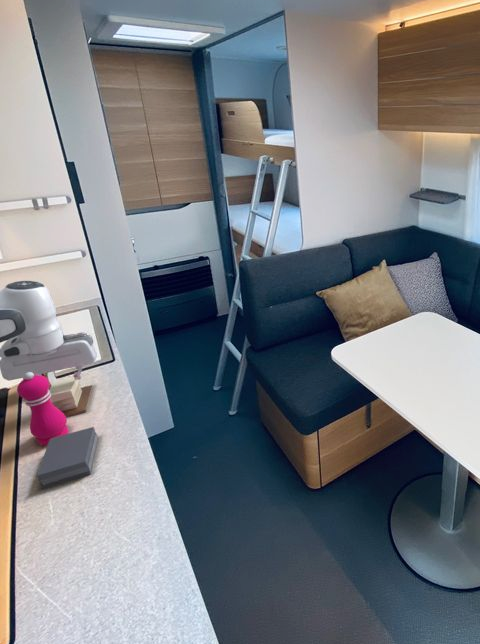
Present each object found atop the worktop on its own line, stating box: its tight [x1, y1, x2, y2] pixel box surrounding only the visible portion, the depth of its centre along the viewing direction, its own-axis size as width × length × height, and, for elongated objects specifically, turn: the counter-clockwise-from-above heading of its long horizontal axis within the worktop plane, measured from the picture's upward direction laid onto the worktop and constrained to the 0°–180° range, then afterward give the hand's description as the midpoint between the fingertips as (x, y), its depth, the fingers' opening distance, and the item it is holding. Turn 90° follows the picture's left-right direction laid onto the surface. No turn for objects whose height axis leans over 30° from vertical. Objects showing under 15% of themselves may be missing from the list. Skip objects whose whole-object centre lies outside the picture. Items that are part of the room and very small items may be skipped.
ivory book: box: [49, 374, 80, 402], centre depth 113 cm, size 6×8×2 cm
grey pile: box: [36, 426, 99, 490], centre depth 96 cm, size 9×12×4 cm
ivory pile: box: [52, 381, 94, 418], centre depth 114 cm, size 10×12×5 cm
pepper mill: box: [16, 372, 69, 446], centre depth 100 cm, size 7×7×20 cm
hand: (58, 383), depth 112 cm, fingers open, 8 cm apart
